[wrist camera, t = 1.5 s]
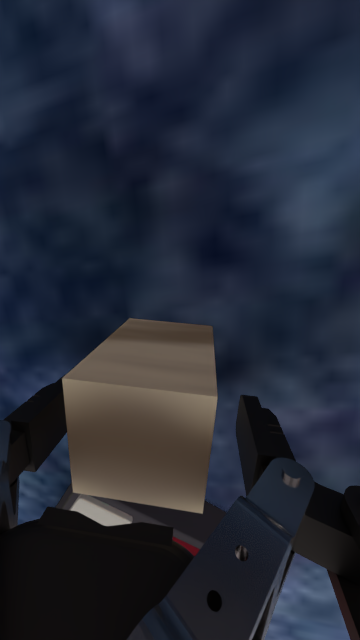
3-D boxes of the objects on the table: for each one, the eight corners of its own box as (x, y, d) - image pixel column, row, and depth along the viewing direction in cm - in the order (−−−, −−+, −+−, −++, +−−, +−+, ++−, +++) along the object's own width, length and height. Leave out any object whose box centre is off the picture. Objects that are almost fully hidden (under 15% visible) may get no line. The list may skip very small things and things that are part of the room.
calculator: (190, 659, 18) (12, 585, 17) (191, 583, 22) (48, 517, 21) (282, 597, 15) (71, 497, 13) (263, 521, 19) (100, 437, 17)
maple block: (129, 318, 14) (62, 378, 8) (212, 325, 14) (217, 397, 7) (129, 389, 16) (73, 492, 9) (204, 398, 15) (202, 513, 9)
